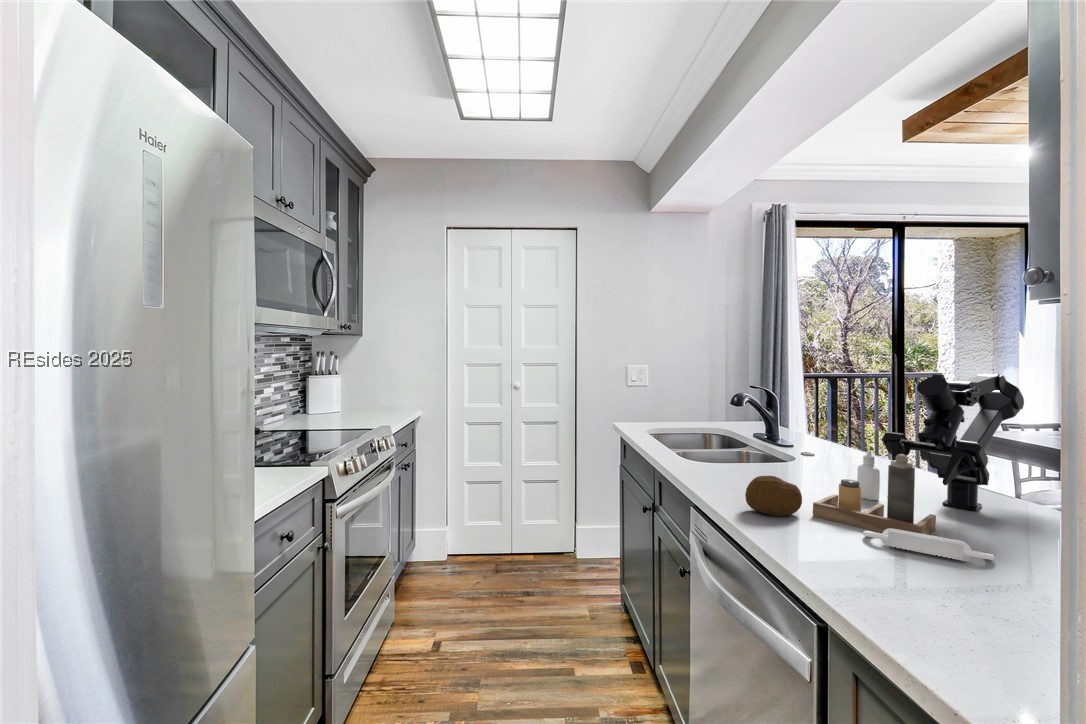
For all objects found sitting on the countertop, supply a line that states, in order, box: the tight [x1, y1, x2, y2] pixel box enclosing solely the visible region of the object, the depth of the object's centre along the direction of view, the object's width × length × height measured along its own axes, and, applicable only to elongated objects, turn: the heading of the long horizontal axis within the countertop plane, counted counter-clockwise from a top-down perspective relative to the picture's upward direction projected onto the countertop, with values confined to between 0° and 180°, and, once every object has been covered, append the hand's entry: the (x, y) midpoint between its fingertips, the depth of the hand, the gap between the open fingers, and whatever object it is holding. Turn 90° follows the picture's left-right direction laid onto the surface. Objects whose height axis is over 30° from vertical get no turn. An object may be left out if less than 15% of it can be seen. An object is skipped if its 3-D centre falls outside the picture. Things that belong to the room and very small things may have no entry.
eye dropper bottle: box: [856, 450, 881, 501], centre depth 132 cm, size 4×6×12 cm
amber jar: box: [838, 478, 862, 512], centre depth 117 cm, size 4×4×8 cm
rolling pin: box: [862, 528, 995, 562], centre depth 98 cm, size 20×8×4 cm, turn 53°
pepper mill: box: [886, 454, 916, 524], centre depth 109 cm, size 5×5×16 cm
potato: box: [744, 475, 803, 517], centre depth 118 cm, size 8×12×9 cm
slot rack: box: [812, 493, 937, 535], centre depth 113 cm, size 11×20×3 cm, turn 40°
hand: (919, 479), depth 114 cm, fingers open, 9 cm apart
